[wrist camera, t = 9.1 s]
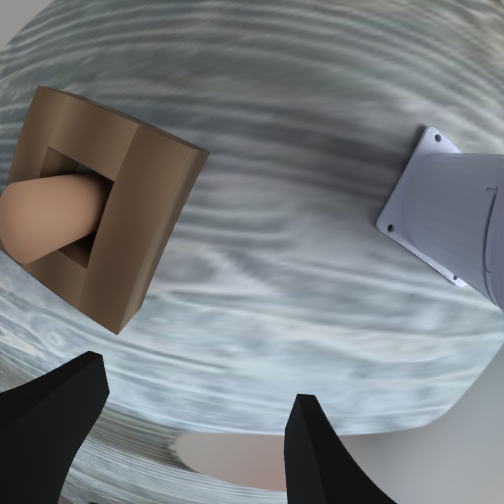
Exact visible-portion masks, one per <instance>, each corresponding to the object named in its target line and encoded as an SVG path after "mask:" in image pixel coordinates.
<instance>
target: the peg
mask: <svg viewBox="0 0 504 504" xmlns="http://www.w3.org/2000/svg"><path fill="white" fill-rule="evenodd" d="M114 182H115V181H113V180H111V179H109V178H107V177H105V176H104V175H102V174H100V173H98V172H88V173H79V174H70V175H62V176H54V177H47V178H40V179H34V180H28V181H22V182H16V183H12V184H10V185H8V186H7V187H6V188H5V189H4V191H3V192H2V194H1V196H0V238H1V241H2V243H3V245H4V247H5V249H6V251H7V252H8V253H9V255H10V256H11V257H12V258H13V259H15V260H16V261H18V262H20V263H23V264H27V263H31V262H33V261H35V260H37V259H39V258H41V257H43V256H45V255H47V254H49V253H51V252H53V251H55V250H57V249H59V248H61V247H63V246H65V245H67V244H69V243H72V242H74V241H76V240H78V239H80V238H82V237H85V236H87V235H89V234H91V233H93V232H96V231H98V228H99V225H100V222H101V219H102V216H103V213H104V210H105V207H106V204H107V201H108V198H109V196H110V193H111V190H112V188H113V185H114Z"/></svg>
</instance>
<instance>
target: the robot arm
mask: <svg viewBox="0 0 504 504" xmlns="http://www.w3.org/2000/svg"><path fill="white" fill-rule="evenodd" d="M435 135H437V137H438V141H436V140H435ZM389 225H392V230H391V231H388V230H387V228H388V226H389ZM376 226H377V228H378V229H379V230H380V231H381V232H383V233H384V234H386V235H387V236H389V237H390V238H392V239H393V240H395V241H396V242H398V243H399V244H401V245H402V246H403V247H405V248H406V249H408V250H409V251H411V252H412V253H413V254H415V255H416V256H418V257H419V258H420V259H422V260H423V261H425V262H426V263H427V264H429V265H430V266H431V267H433V268H434V269H435V270H437V271H438V272H439V273H441V274H442V275H443V276H445V277H446V278H447V279H449V280H450V281H451V282H453V283H454V284H455V285H456V286H458V287H459V288H463V287H464V286H465V285H466V284H468V285H470V286H471V287H473V288H474V289H475V290H477V291H478V292H479V293H481V294H482V295H483V296H484V297H486V298H487V299H488V300H490V301H491V302H492V303H494V304H495V305H496V306H498V307H499V308H500V309H501V310H502V312H503V314H504V155H502V154H476V153H462V152H461V151H460V150H459V149H458V148H457V147H456V146H455V145H454V144H453V143H452V142H450V141H449V140H448V139H447V138H446V137H445V136H444V135H443V134H442V133H440V132H439V131H438V130H437V129H436V128H434V127H433V126H429V127H426V128H425V130H424V132H423V134H422V136H421V138H420V140H419V142H418V144H417V146H416V148H415V150H414V152H413V154H412V156H411V158H410V160H409V162H408V164H407V166H406V168H405V170H404V172H403V174H402V176H401V178H400V180H399V182H398V183H397V185H396V187H395V189H394V191H393V193H392V194H391V196H390V198H389V200H388V202H387V203H386V205H385V207H384V209H383V210H382V212H381V214H380V216H379V217H378V219H377V222H376ZM454 274H455V277H454V278H453V276H454ZM109 393H110V391H109V387H108V382H107V377H106V372H105V367H104V362H103V356H102V355H101V354H98V353H95V352H92V351H87V352H85V353H83V354H81V355H80V356H78V357H76V358H74V359H72V360H71V361H69V362H67V363H65V364H63V365H62V366H60V367H58V368H56V369H54V370H52V371H50V372H49V373H47V374H45V375H43V376H40V377H38V378H36V379H34V380H32V381H30V382H28V383H26V384H23V385H21V386H18V387H16V388H13V389H10V390H7V391H4V392H1V393H0V504H58V500H59V496H60V493H61V490H62V487H63V484H64V481H65V478H66V476H67V473H68V471H69V468H70V466H71V464H72V461H73V459H74V457H75V455H76V453H77V451H78V450H79V448H80V446H81V445H82V443H83V441H84V440H85V438H86V437H87V435H88V433H89V432H90V430H91V428H92V427H93V425H94V424H95V422H96V420H97V419H98V417H99V415H100V414H101V412H102V409H103V407H104V405H105V403H106V400H107V398H108V395H109ZM284 460H285V473H286V487H287V500H288V504H397V503H395V502H394V501H393V500H392V499H391V498H390V497H388V496H387V495H386V494H385V493H384V492H383V491H382V490H380V489H379V488H378V487H377V486H376V485H375V484H374V483H373V482H372V480H370V478H369V477H368V476H367V475H366V474H365V473H364V472H363V470H362V469H361V468H360V467H359V466H358V464H357V463H356V462H355V460H354V459H353V458H352V456H351V455H350V454H349V452H348V451H347V450H346V448H345V447H344V445H343V444H342V442H341V440H340V439H339V437H338V436H337V434H336V433H335V431H334V429H333V428H332V426H331V424H330V422H329V421H328V419H327V417H326V415H325V413H324V412H323V410H322V408H321V406H320V404H319V402H318V400H317V398H316V397H315V395H307V394H297V396H296V399H295V402H294V405H293V408H292V411H291V414H290V416H289V419H288V422H287V425H286V428H285V440H284Z"/></svg>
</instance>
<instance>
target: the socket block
mask: <svg viewBox="0 0 504 504" xmlns="http://www.w3.org/2000/svg"><path fill="white" fill-rule="evenodd" d="M208 155H209V152H207V151H205V150H203V149H201V148H199V147H197V146H195V145H193V144H191V143H189V142H187V141H184V140H182V139H180V138H178V137H176V136H174V135H171V134H169V133H167V132H165V131H163V130H160V129H158V128H156V127H154V126H151V125H149V124H147V123H145V122H142V121H140V120H138V119H135V118H133V117H131V116H128V115H126V114H123V113H121V112H119V111H116V110H114V109H111V108H109V107H106V106H104V105H101V104H99V103H96V102H93V101H91V100H88V99H86V98H83V97H80V96H78V95H75V94H72V93H68V92H64V91H60V90H56V89H52V88H48V87H44V86H40V85H39V86H38V88H37V90H36V93H35V95H34V98H33V100H32V103H31V105H30V108H29V111H28V113H27V116H26V119H25V122H24V125H23V128H22V131H21V134H20V137H19V140H18V144H17V147H16V151H15V154H14V158H13V162H12V166H11V170H10V174H9V179H8V183H7V186H8V185H10V184H12V183H16V182H22V181H28V180H34V179H40V178H47V177H54V176H62V175H70V174H74V173H75V170H76V167H77V164H78V162H79V163H81V164H83V165H85V166H87V167H88V168H90V169H92V170H94V171H96V172H98V173H100V174H102V175H104V176H105V177H107V178H109V179H111V180H113V181H115V182H114V185H113V188H112V190H111V193H110V196H109V198H108V201H107V204H106V207H105V210H104V213H103V216H102V219H101V222H100V225H99V228H98V231H97V235H96V238H95V237H94V236H92V235H91V234H89V235H87V236H85V237H82V238H80V239H78V240H76V241H74V242H72V243H69V244H67V245H65V246H63V247H61V248H59V249H57V250H55V251H53V252H51V253H49V254H47V255H45V256H43V257H41V258H39V259H37V260H35V261H33V262H31V263H27V264H23V263H20V262H18V261H16V260H15V259H13V258H12V257H11V256H10V255H9V253H8V252H7V251H6V249H5V247H4V245H3V243H2V241H1V238H0V249H1V250H2V251H3V252H4V253H5V254H7V255H8V256H9V257H10V258H11V259H12V260H13V261H15V262H16V263H17V264H18V265H19V266H21V267H22V268H23V269H24V270H25V271H27V272H28V273H29V274H30V275H32V276H33V277H34V278H35V279H37V280H38V281H39V282H40V283H42V284H43V285H44V286H46V287H47V288H48V289H49V290H51V291H52V292H54V293H55V294H56V295H58V296H59V297H60V298H62V299H63V300H64V301H66V302H67V303H69V304H70V305H72V306H73V307H74V308H76V309H77V310H79V311H80V312H82V313H83V314H85V315H86V316H88V317H89V318H91V319H92V320H94V321H95V322H97V323H98V324H100V325H101V326H103V327H105V328H106V329H108V330H109V331H111V332H113V333H114V334H116V335H118V334H119V333H120V331H121V330H122V329H123V328H124V327H125V325H126V324H127V323H128V322H129V321H130V319H131V318H132V317H133V316H134V315H135V314H136V312H137V311H138V310H139V309H140V308H141V305H142V303H143V300H144V298H145V295H146V292H147V290H148V287H149V285H150V282H151V280H152V277H153V275H154V272H155V270H156V268H157V265H158V263H159V260H160V258H161V256H162V253H163V251H164V248H165V246H166V244H167V242H168V239H169V237H170V235H171V232H172V230H173V228H174V226H175V223H176V221H177V219H178V217H179V215H180V213H181V210H182V208H183V206H184V204H185V202H186V200H187V198H188V195H189V193H190V191H191V189H192V187H193V185H194V183H195V181H196V179H197V177H198V175H199V173H200V171H201V169H202V167H203V165H204V163H205V161H206V159H207V157H208Z"/></svg>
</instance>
